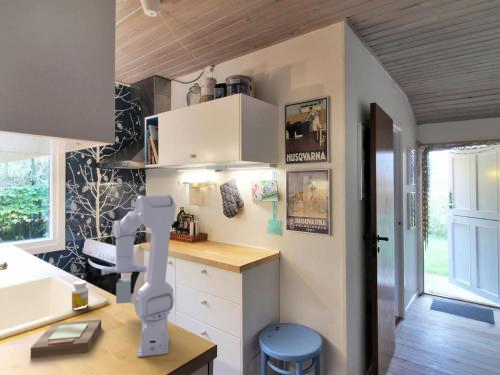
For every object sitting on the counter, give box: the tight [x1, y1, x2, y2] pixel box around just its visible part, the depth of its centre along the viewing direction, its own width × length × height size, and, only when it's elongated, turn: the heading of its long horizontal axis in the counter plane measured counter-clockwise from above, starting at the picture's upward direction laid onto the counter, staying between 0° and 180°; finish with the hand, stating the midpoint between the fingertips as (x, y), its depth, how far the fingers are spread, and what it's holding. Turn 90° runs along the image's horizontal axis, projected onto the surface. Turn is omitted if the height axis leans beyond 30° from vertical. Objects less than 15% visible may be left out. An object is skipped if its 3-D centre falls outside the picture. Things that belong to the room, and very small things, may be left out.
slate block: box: [115, 277, 134, 305], centre depth 103 cm, size 4×4×7 cm
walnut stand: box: [30, 318, 102, 359], centre depth 88 cm, size 14×14×3 cm
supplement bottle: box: [71, 280, 89, 310], centre depth 111 cm, size 5×5×10 cm
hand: (124, 293), depth 103 cm, fingers closed on slate block, 4 cm apart
